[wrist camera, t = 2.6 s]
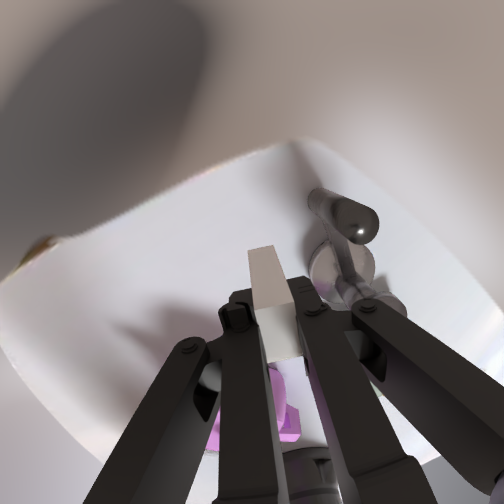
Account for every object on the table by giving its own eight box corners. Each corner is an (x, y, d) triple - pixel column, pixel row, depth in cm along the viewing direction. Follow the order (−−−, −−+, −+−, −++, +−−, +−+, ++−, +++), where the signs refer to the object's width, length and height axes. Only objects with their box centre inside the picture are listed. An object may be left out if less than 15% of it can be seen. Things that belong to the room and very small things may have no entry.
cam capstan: (373, 282, 31) (420, 332, 21) (319, 306, 32) (350, 367, 22) (345, 176, 27) (400, 190, 17) (281, 200, 28) (307, 227, 18)
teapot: (160, 394, 36) (146, 450, 26) (169, 341, 33) (151, 401, 23) (279, 416, 38) (287, 470, 29) (306, 368, 35) (324, 427, 26)
